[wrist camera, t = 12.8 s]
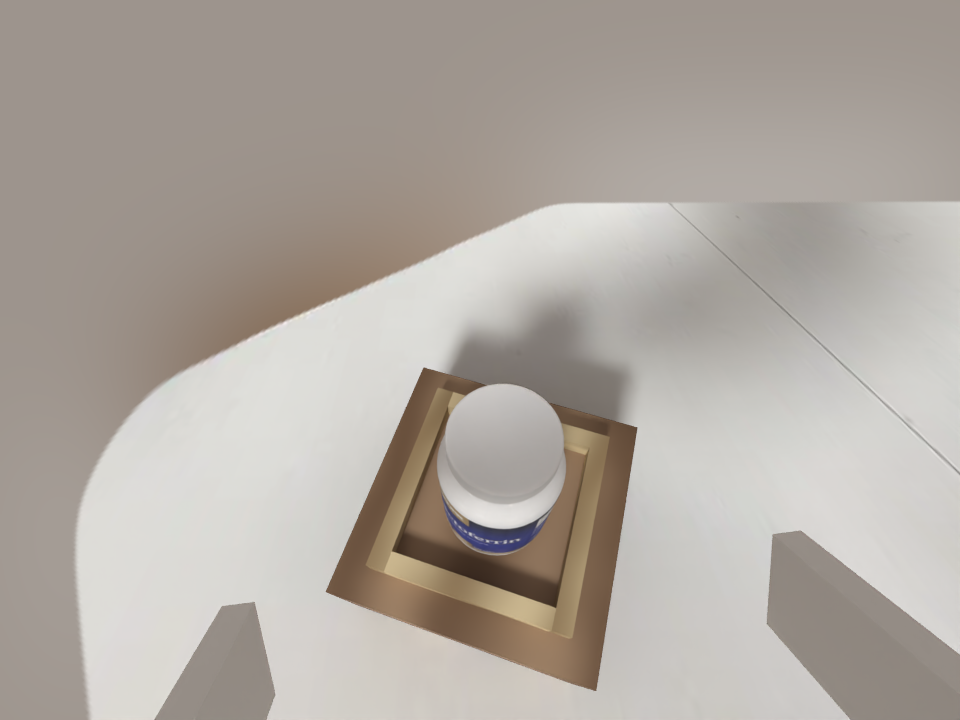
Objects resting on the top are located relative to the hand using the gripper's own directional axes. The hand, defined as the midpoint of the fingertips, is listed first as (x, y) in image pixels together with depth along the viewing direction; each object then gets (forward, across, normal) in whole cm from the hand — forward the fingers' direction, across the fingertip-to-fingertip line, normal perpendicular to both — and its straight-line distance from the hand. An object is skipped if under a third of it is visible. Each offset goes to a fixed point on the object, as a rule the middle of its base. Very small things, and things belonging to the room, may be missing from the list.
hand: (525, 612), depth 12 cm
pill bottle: (+14, +1, -5) cm, 15 cm away
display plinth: (+19, 0, -10) cm, 22 cm away
